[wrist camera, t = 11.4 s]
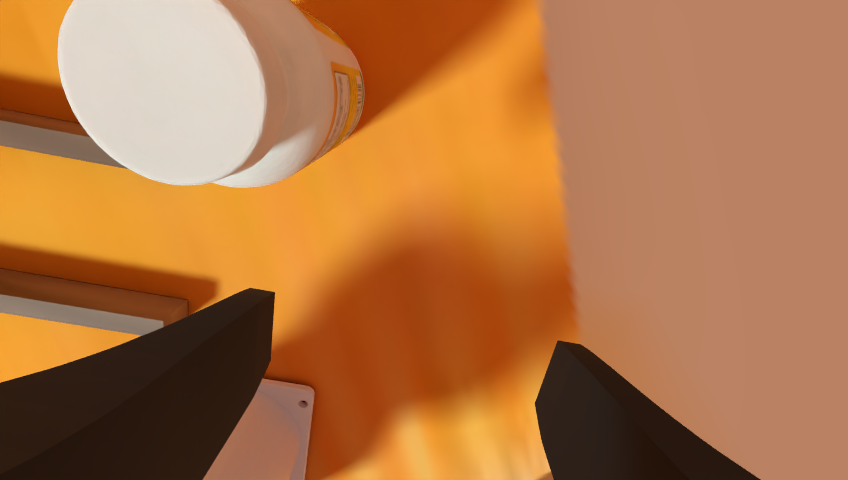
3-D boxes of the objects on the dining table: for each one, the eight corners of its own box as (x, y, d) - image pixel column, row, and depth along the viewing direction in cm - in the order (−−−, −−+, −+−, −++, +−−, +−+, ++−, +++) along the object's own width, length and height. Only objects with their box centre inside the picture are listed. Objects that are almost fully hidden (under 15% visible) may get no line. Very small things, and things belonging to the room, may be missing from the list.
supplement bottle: (386, 124, 17) (351, 163, 8) (279, 171, 18) (137, 256, 9) (328, -9, 15) (202, -143, 6) (211, 50, 16) (-51, 3, 7)
